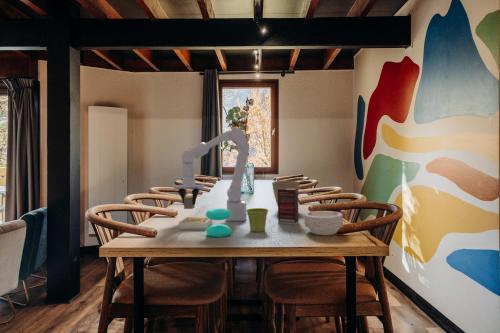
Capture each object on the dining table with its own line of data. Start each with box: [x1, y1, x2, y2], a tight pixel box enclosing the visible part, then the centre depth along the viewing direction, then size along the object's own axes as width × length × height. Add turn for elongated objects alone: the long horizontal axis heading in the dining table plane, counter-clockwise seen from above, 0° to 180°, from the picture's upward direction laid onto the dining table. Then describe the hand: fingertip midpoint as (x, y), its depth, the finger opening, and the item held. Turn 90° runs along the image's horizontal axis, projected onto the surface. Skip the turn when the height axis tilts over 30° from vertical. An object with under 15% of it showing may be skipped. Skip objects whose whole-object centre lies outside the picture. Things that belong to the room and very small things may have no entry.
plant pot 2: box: [271, 180, 300, 207], centre depth 192 cm, size 15×15×16 cm
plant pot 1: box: [246, 207, 269, 233], centre depth 147 cm, size 9×9×9 cm
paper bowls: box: [304, 210, 344, 236], centre depth 142 cm, size 15×15×8 cm
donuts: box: [205, 208, 232, 238], centre depth 141 cm, size 10×10×10 cm
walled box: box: [178, 216, 213, 231], centre depth 156 cm, size 12×12×3 cm
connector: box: [183, 194, 196, 210], centre depth 167 cm, size 4×4×6 cm
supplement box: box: [277, 188, 300, 225], centre depth 161 cm, size 9×5×16 cm, turn 65°
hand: (189, 204), depth 167 cm, fingers closed on connector, 4 cm apart
